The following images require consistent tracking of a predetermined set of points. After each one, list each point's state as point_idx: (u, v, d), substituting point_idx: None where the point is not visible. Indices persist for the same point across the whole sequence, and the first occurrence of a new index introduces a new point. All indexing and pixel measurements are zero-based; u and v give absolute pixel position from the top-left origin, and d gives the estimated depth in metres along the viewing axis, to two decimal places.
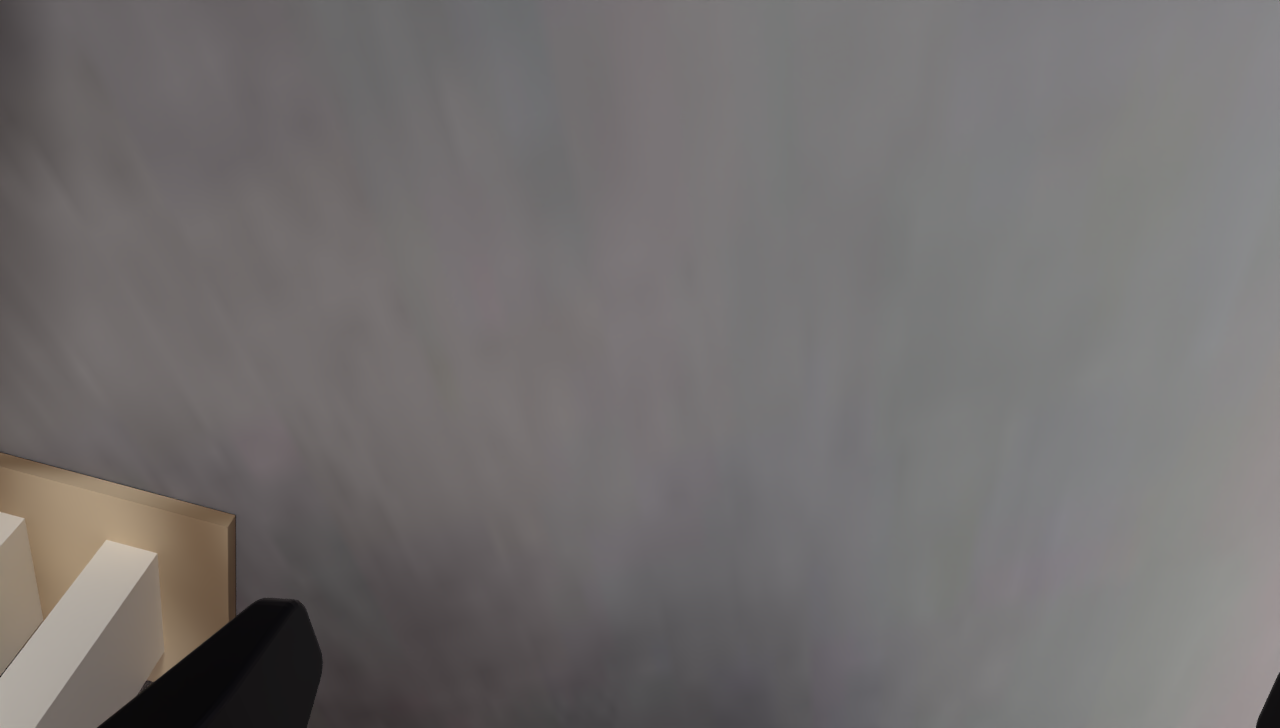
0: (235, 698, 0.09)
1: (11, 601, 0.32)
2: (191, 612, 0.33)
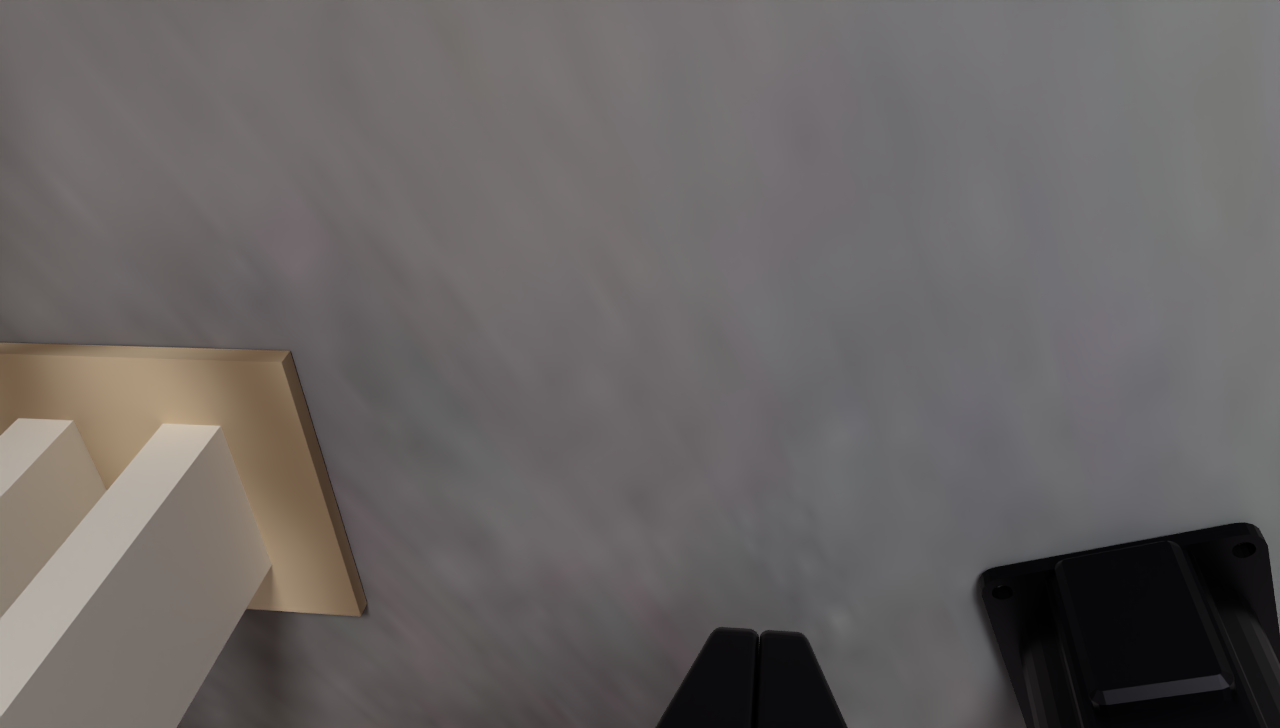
0: None
1: None
2: (282, 500, 0.27)
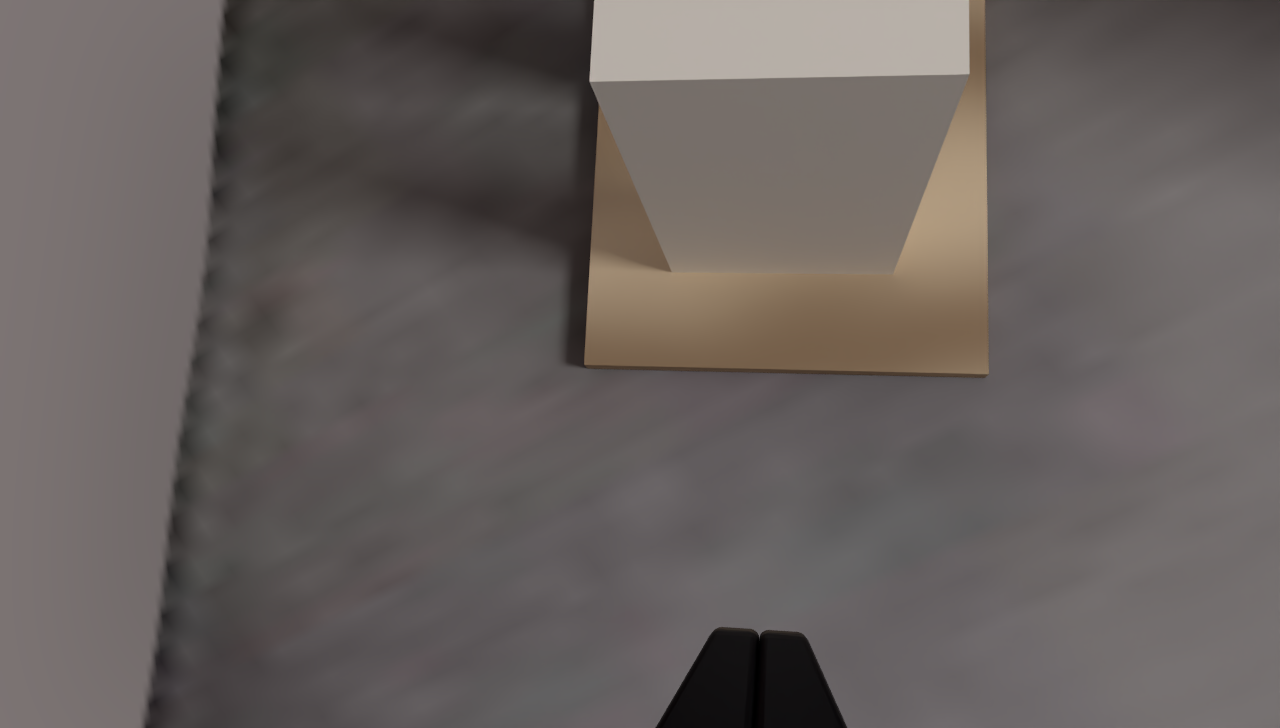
0: None
1: None
2: (779, 316, 0.23)
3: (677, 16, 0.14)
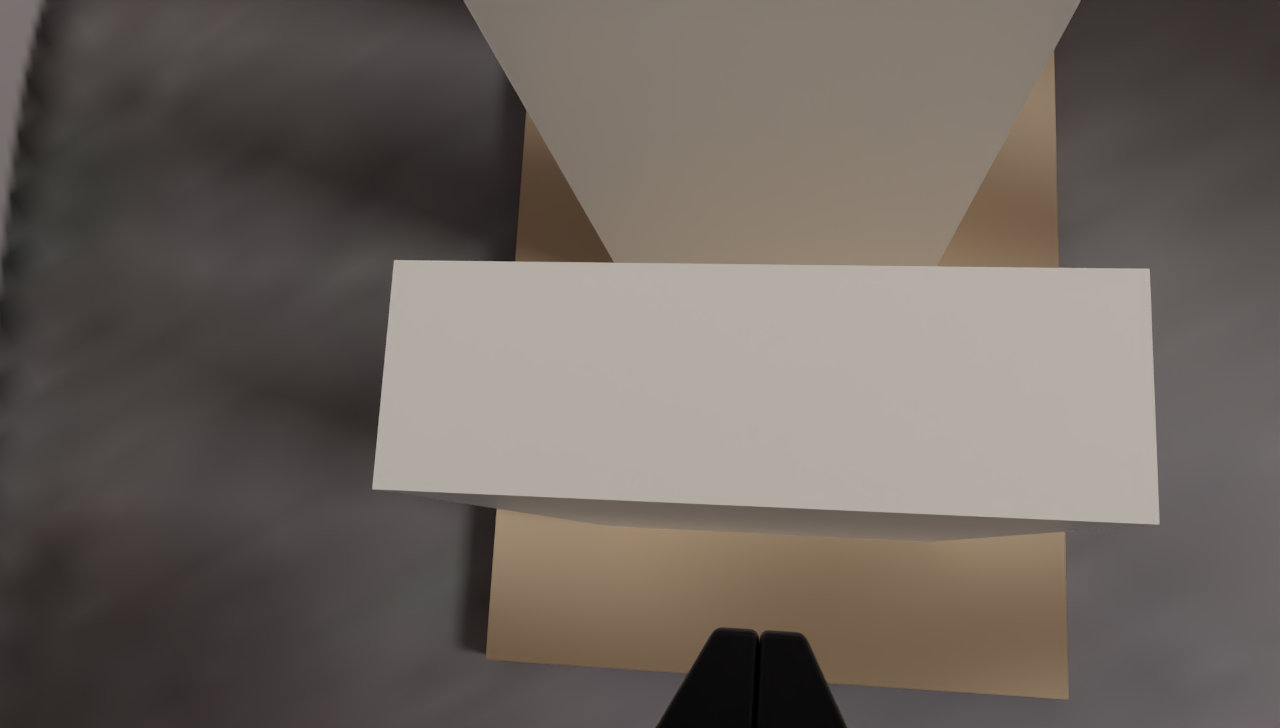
0: None
1: (766, 262, 0.16)
2: (764, 598, 0.16)
3: (550, 358, 0.07)
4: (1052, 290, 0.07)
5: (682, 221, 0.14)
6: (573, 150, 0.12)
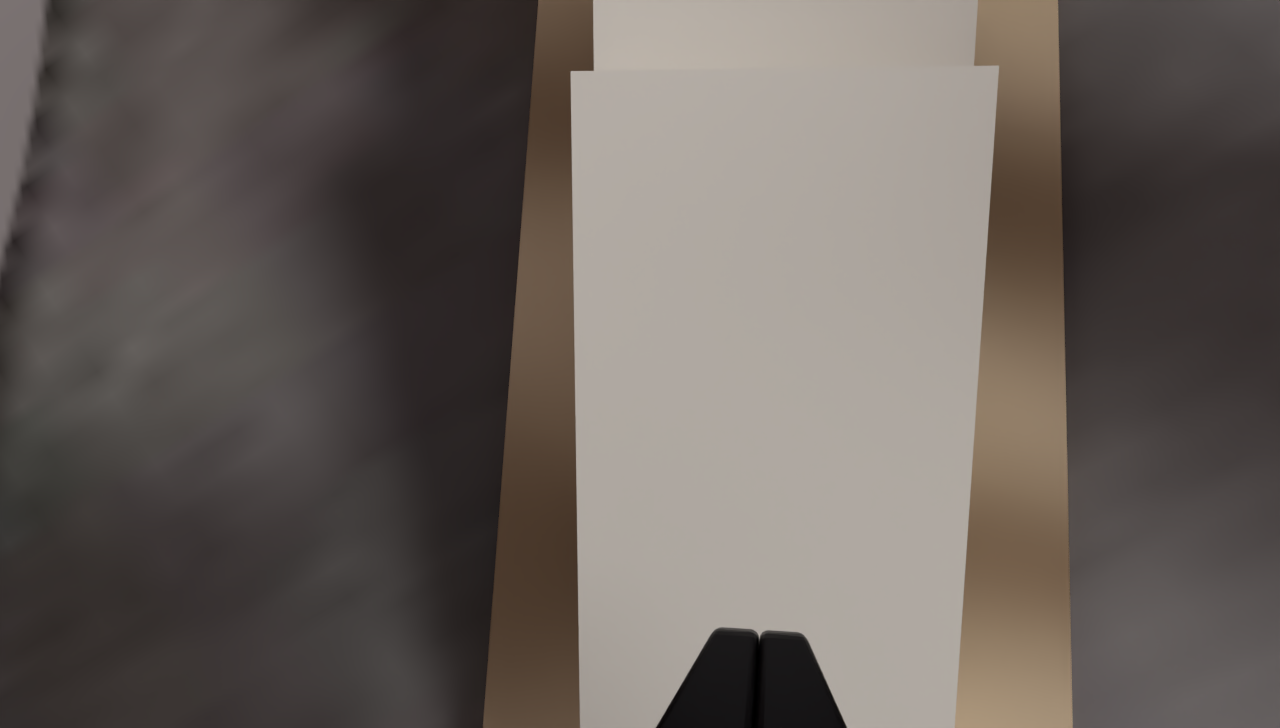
0: None
1: None
2: None
3: None
4: None
5: None
6: None
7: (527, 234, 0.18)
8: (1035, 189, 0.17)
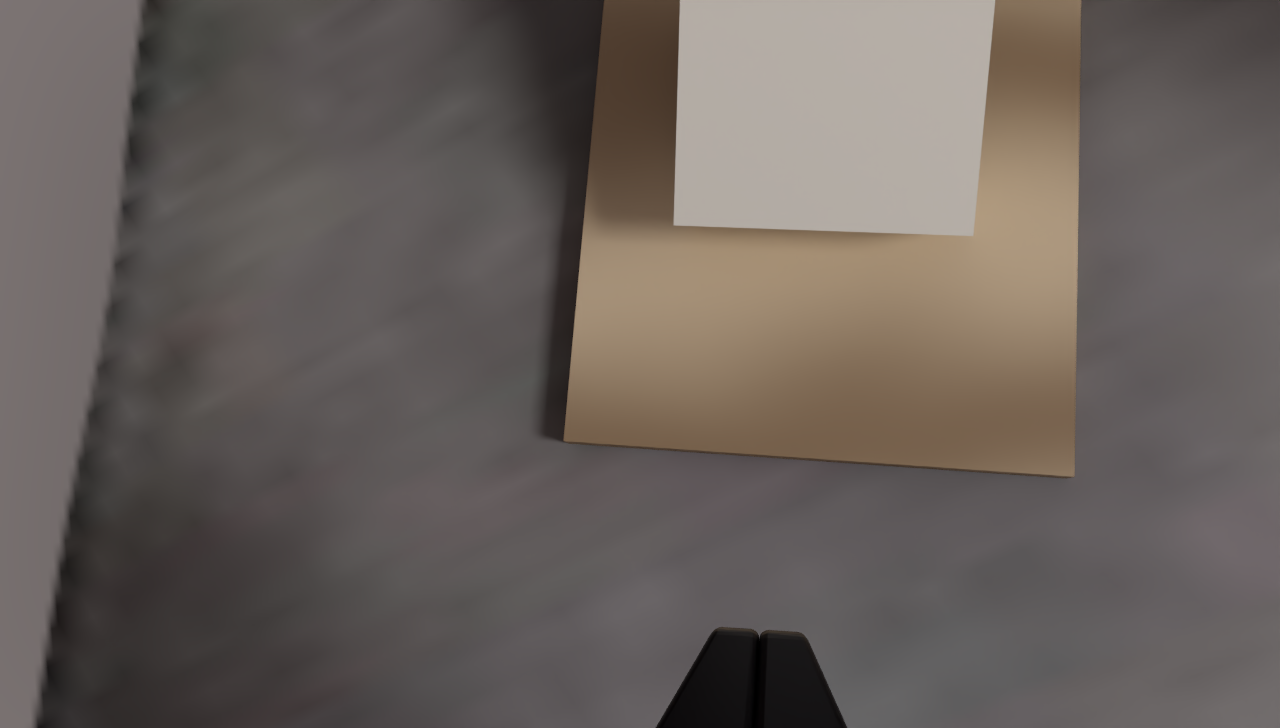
0: None
1: None
2: (810, 390, 0.18)
3: None
4: None
5: None
6: None
7: None
8: None
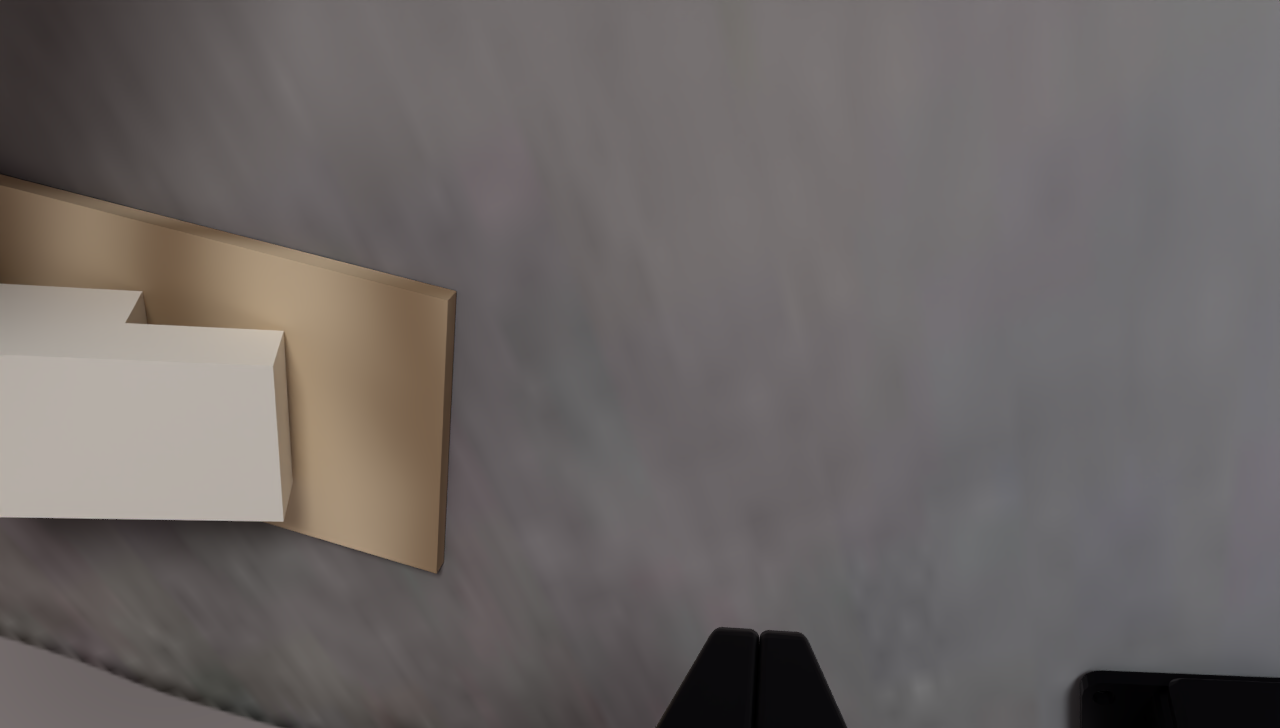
0: None
1: None
2: (398, 438, 0.27)
3: None
4: None
5: None
6: None
7: None
8: None
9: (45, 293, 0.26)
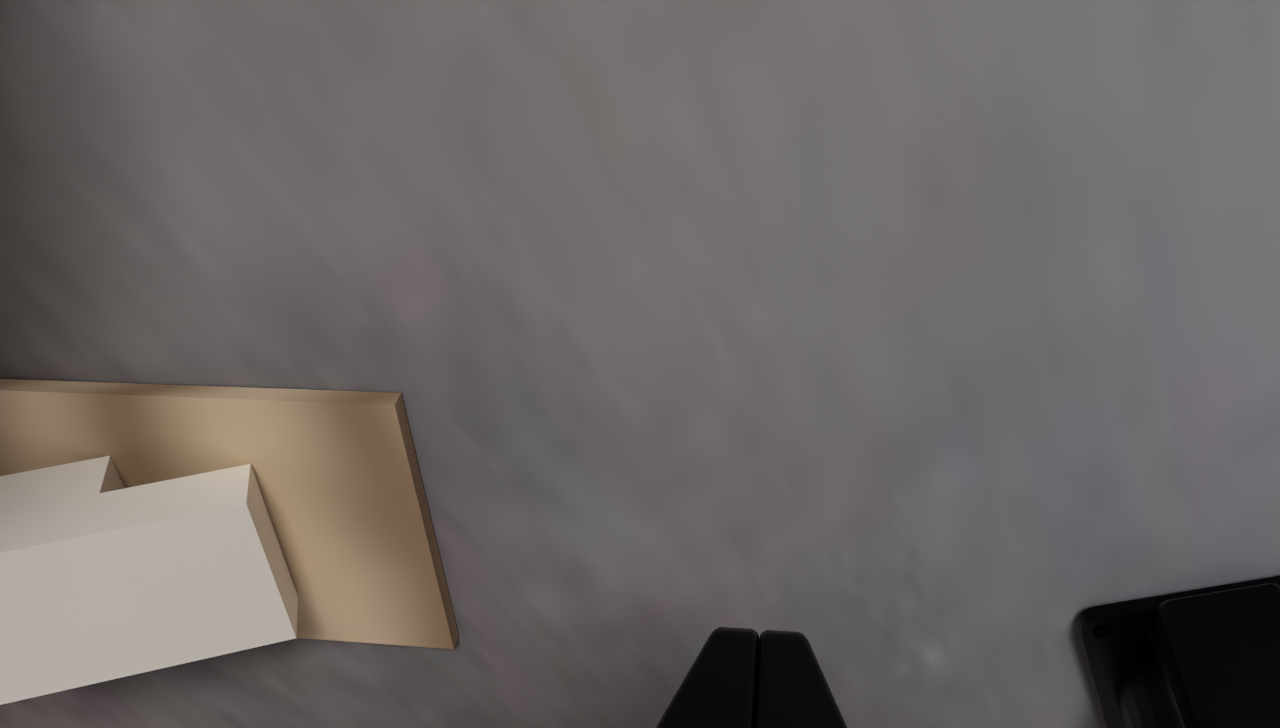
0: None
1: None
2: (384, 537, 0.28)
3: None
4: None
5: None
6: None
7: None
8: None
9: (19, 480, 0.27)
